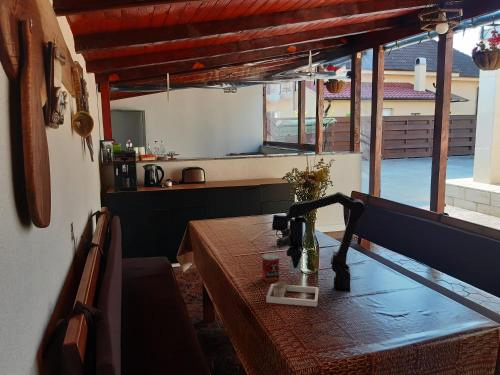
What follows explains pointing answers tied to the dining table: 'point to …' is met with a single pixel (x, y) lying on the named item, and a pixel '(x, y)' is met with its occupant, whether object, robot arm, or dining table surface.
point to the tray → (294, 300)
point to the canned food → (271, 267)
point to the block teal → (293, 265)
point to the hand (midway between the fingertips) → (295, 266)
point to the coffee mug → (284, 232)
